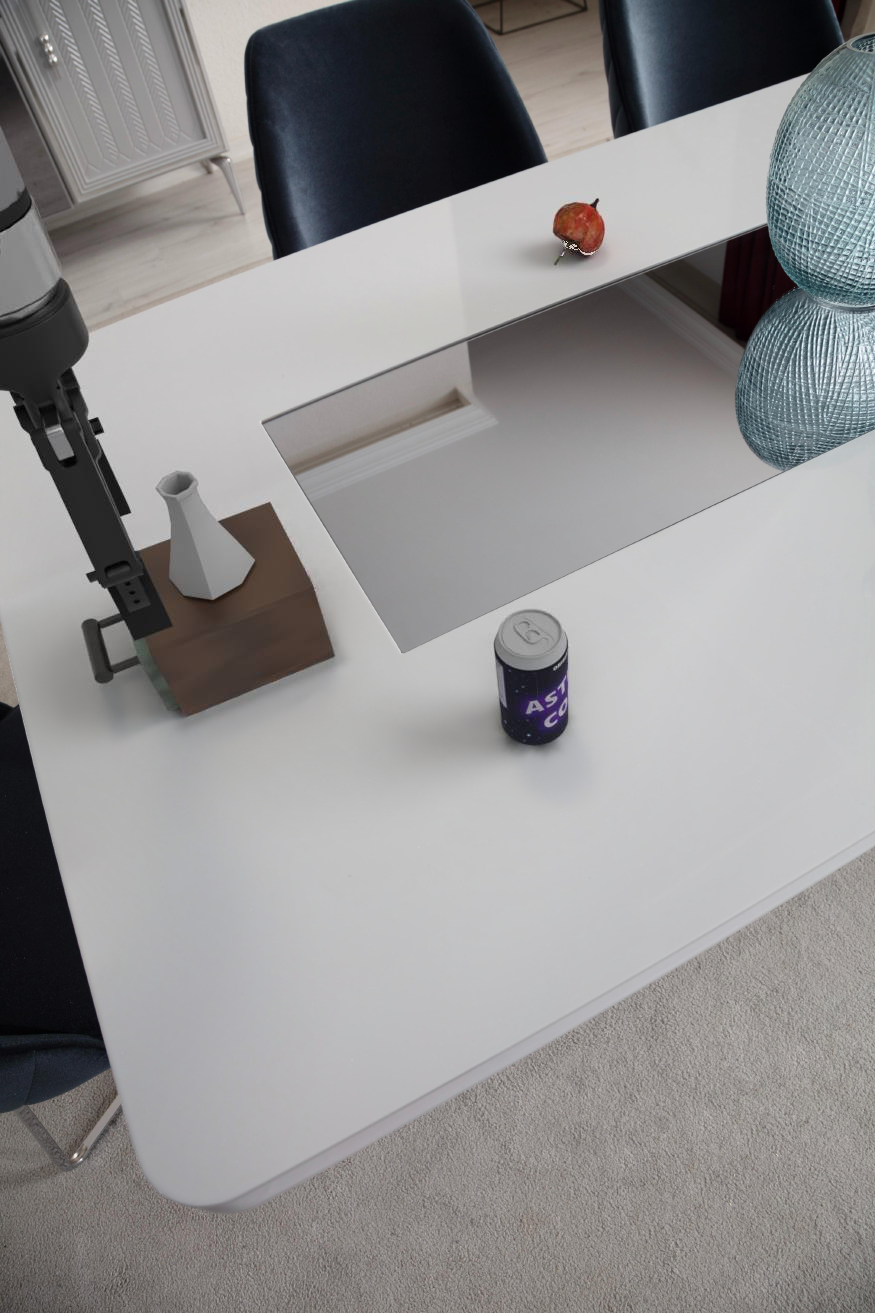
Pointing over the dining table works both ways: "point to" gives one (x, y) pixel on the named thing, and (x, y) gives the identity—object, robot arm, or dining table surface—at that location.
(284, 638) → the cabinet
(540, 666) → the beverage can
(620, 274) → the dining table surface
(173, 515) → the flask
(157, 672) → the drawer
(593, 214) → the pomegranate
